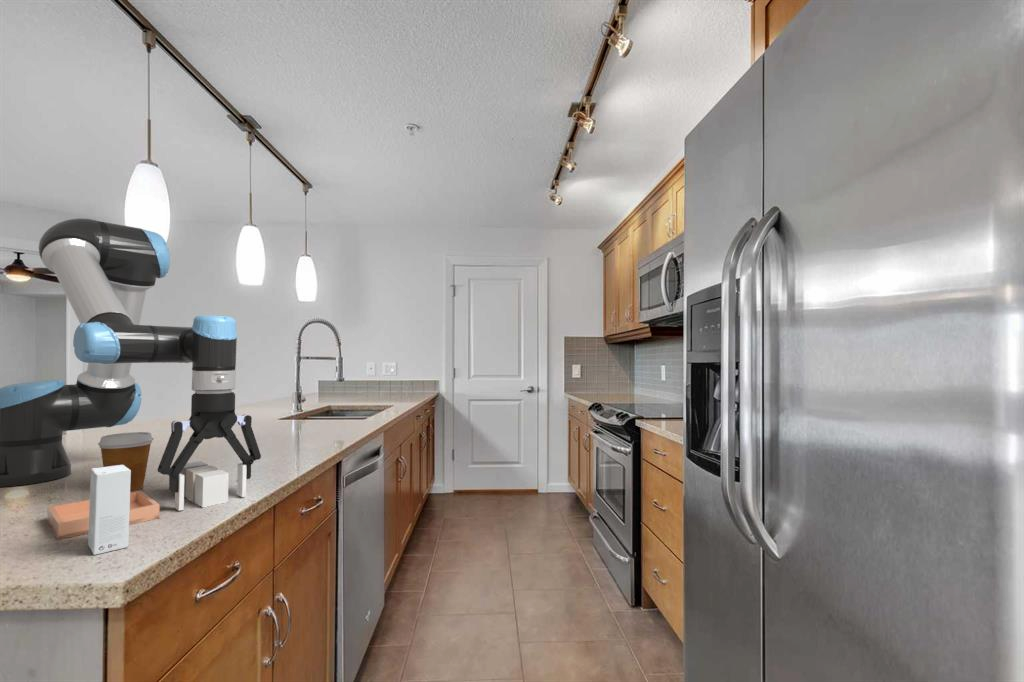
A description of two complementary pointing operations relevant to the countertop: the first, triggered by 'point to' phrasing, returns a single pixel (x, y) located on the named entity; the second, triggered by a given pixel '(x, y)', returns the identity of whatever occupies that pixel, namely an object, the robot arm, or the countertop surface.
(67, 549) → the countertop surface
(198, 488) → the white block
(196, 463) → the grey rectangular block
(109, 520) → the skincare box
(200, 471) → the beige rectangular block
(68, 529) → the dish
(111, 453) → the disposable coffee cup
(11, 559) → the countertop surface
